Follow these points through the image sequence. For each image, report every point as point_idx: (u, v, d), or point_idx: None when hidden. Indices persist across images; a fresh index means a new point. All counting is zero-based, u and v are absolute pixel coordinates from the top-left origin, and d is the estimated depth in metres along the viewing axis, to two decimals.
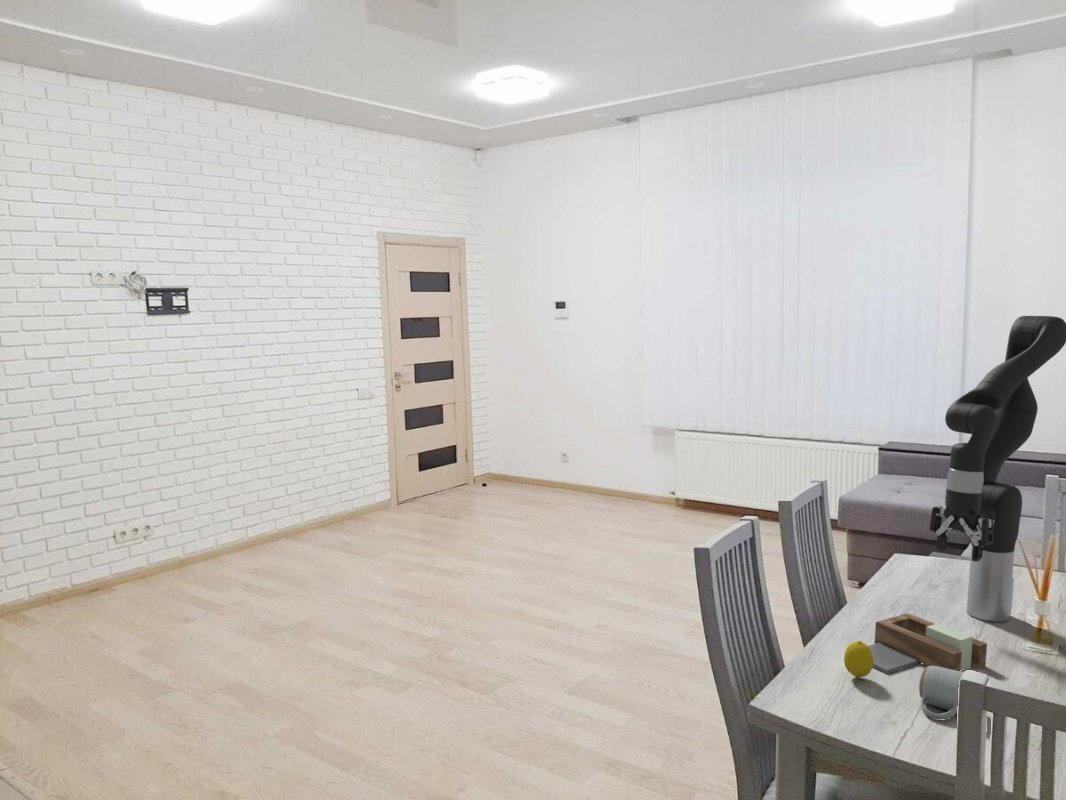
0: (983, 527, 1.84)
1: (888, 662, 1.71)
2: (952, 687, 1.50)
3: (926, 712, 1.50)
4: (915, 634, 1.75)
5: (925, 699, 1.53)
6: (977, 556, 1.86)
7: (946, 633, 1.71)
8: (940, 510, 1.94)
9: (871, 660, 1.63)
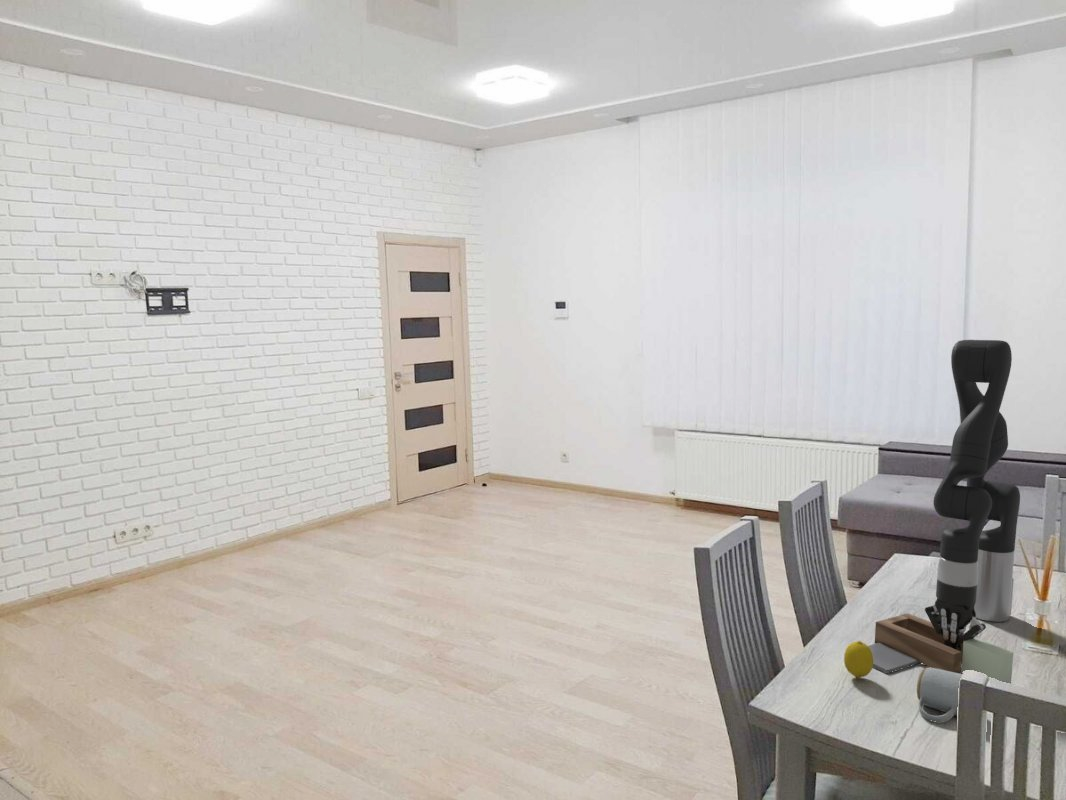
0: (971, 631, 1.66)
1: (888, 662, 1.71)
2: (950, 689, 1.49)
3: (924, 714, 1.50)
4: (915, 634, 1.75)
5: (923, 701, 1.52)
6: None
7: (985, 648, 1.63)
8: (932, 607, 1.75)
9: (871, 660, 1.63)
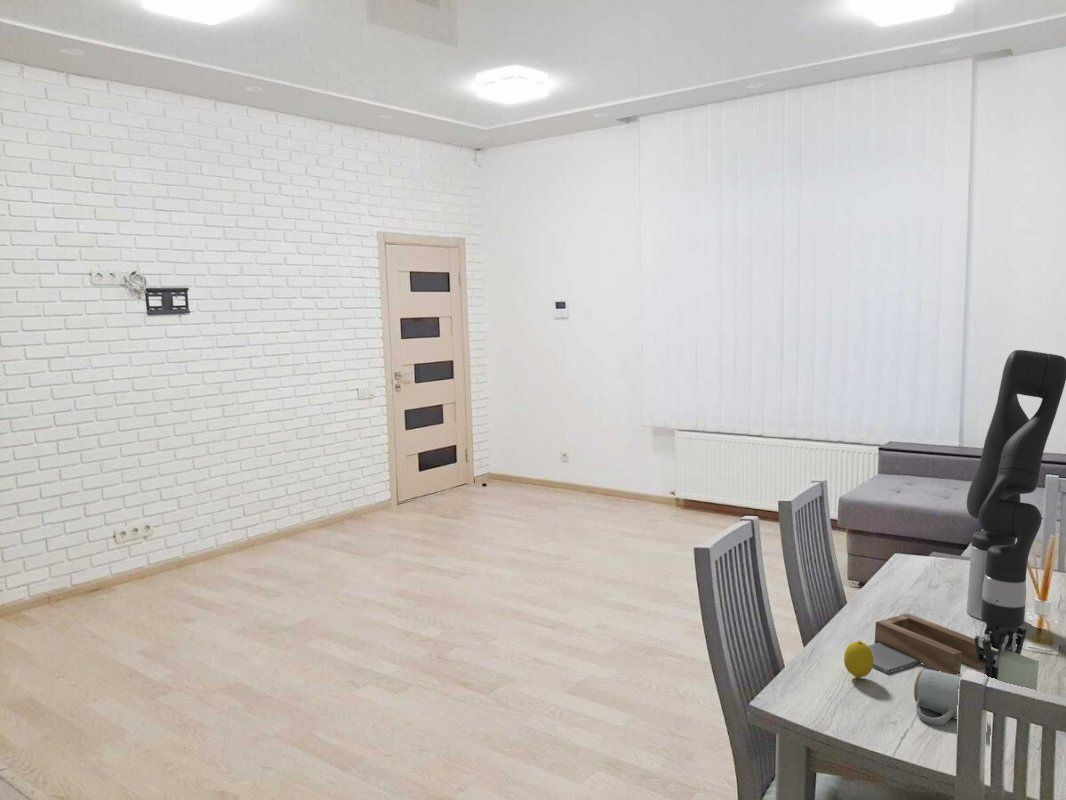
0: None
1: (888, 662, 1.71)
2: (947, 691, 1.48)
3: (921, 716, 1.49)
4: (915, 634, 1.75)
5: (920, 703, 1.52)
6: None
7: (1010, 658, 1.59)
8: None
9: (871, 660, 1.63)
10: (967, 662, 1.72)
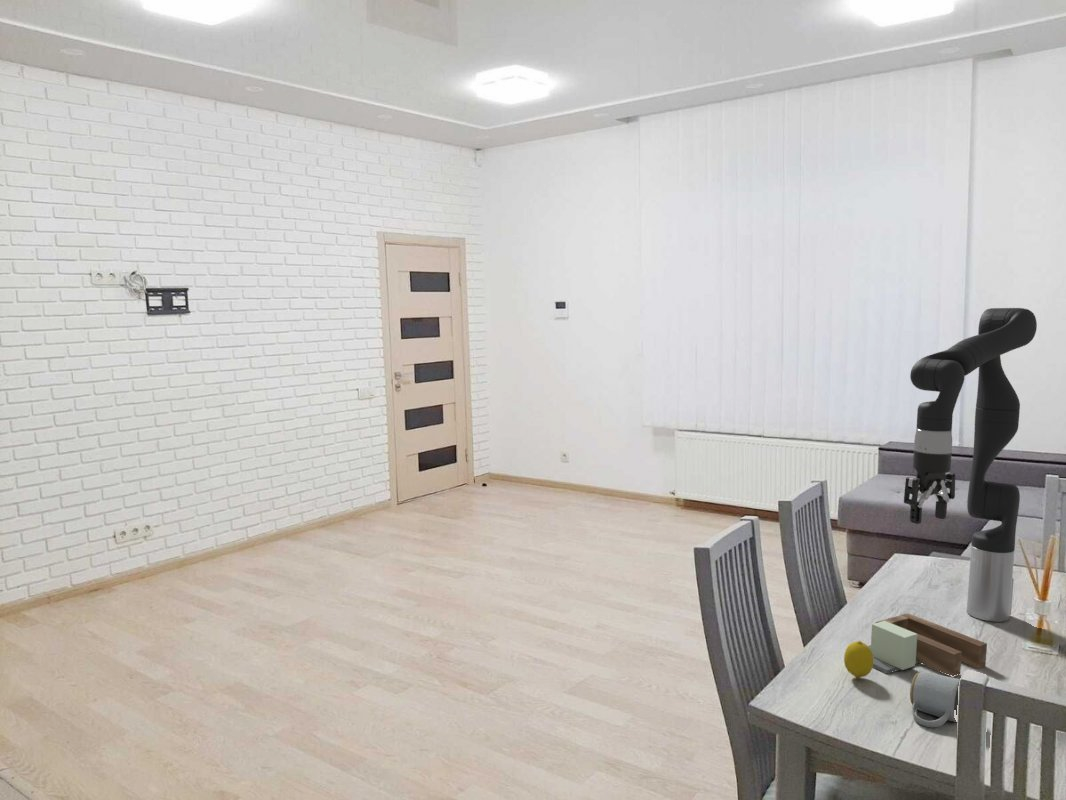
0: None
1: None
2: (943, 694, 1.47)
3: (917, 719, 1.48)
4: None
5: (916, 706, 1.51)
6: None
7: (891, 631, 1.70)
8: None
9: (871, 660, 1.63)
10: (967, 662, 1.72)
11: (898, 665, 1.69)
